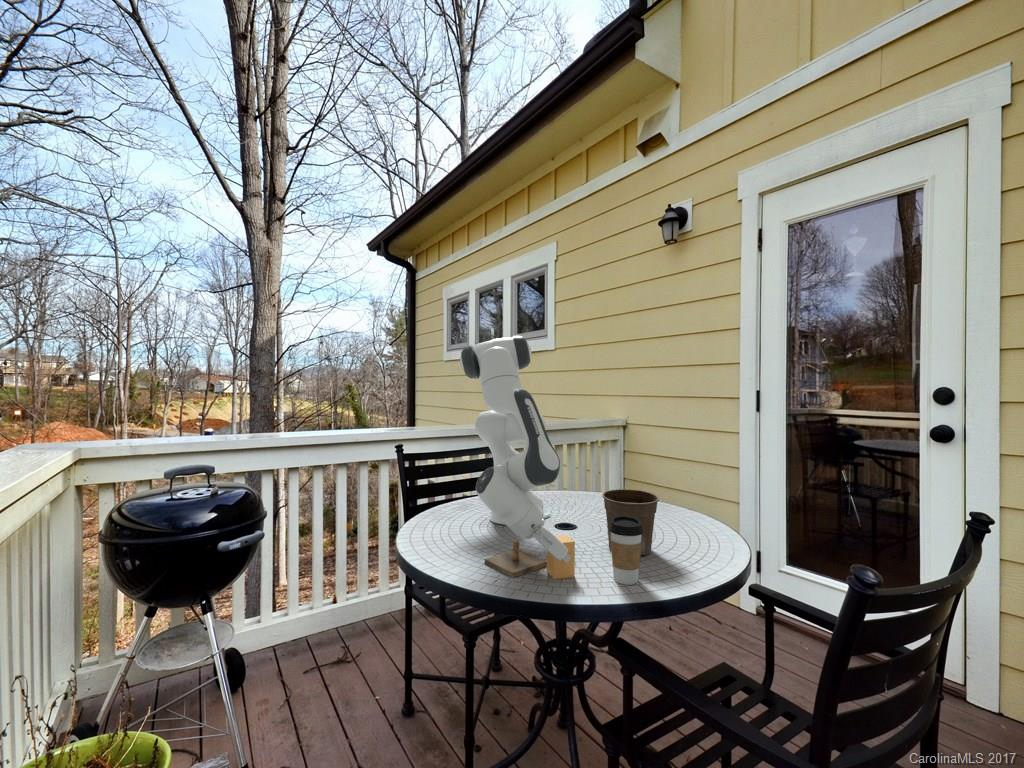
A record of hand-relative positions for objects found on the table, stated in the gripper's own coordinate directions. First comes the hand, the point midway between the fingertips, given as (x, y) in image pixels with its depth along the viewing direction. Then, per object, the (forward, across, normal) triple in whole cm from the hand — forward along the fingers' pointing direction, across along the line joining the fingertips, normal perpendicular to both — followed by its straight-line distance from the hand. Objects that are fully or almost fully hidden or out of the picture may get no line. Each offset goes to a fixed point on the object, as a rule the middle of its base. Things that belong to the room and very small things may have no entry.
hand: (562, 554), depth 124 cm
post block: (-4, +9, +11) cm, 14 cm away
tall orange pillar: (+3, 0, +4) cm, 5 cm away
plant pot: (+22, +10, -14) cm, 28 cm away
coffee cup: (+13, -8, -6) cm, 17 cm away
